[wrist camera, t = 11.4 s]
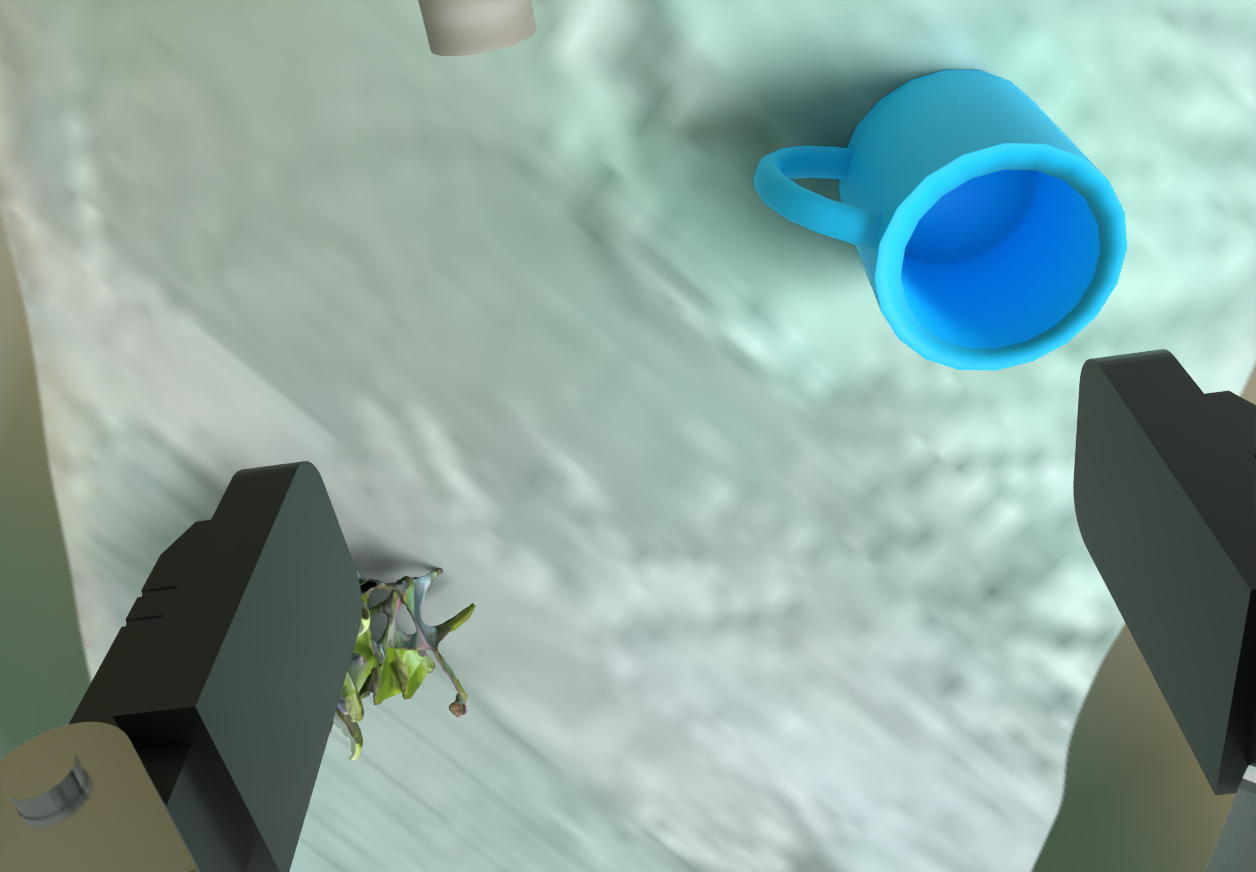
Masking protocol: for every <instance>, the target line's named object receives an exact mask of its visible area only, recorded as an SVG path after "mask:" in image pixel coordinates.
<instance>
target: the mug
mask: <svg viewBox="0 0 1256 872" xmlns="http://www.w3.org/2000/svg"><path fill="white" fill-rule="evenodd" d="M797 178H829V179H837V180H839V194H840V198H841V202H838V201H835V200H831V199H829V198H826V197H824V196H822V195H819V194H817V193H815V192H812V191H810V190H808V189H805V188H803V187H801V186H799V185H798V184H796V183H795V182H793V181H792V180H790V179H797ZM753 184H754V188H755V190H756V192H757V194H758V195H759V196H760V198H761V199H762V201H763V202H764V203H765V204H766V205H767V206H768V207H769V208H771V209H772V210H774V211H775V212H777V213H778V214H780V215H781V216H783V217H784V218H786V219H787V220H789V221H792V222H794V223H796V224H798V225H801V226H803V227H805V228H807V229H810V230H812V231H814V232H816V233H819V234H822V235H826V236H829V237H832V238H835V239H838V240H841V241H844V242H848V243H851V244H854V245H855V246H856V248H857V251H858V253H859V256H860V258H861V261H862V263H863V266H864V269H865V271H866V274H867V276H868V279H869V281H870V284H871V286H872V289H873V292H874V294H875V297H876V299H877V302H878V304H879V307H880V310H881V312H882V314H883V315H884V317H885V318H886V320H887V321H888V323H889V324H890V326H891V327H892V329H893V331H894V332H895V334H896V335H897V337H898V338H899V340H901V341H902V342H903V343H905V344H906V345H907V346H909V347H910V348H912V349H913V350H914V351H916V352H917V353H918V354H920V355H921V356H922V357H924V358H925V359H927V360H930V361H933V362H936V363H940V364H943V365H946V366H949V367H952V368H955V369H958V370H999V369H1003V368H1007V367H1011V366H1015V365H1019V364H1023V363H1027V362H1031V361H1034V360H1036V359H1038V358H1040V357H1042V356H1043V355H1045V354H1047V353H1049V352H1051V351H1053V350H1055V349H1056V348H1058V347H1060V346H1062V345H1064V344H1066V343H1068V342H1069V341H1070V340H1071V339H1072V338H1073V337H1074V336H1075V335H1076V334H1078V333H1079V332H1080V331H1081V330H1082V329H1083V328H1084V327H1085V326H1086V325H1087V324H1088V323H1090V322H1091V321H1092V320H1093V319H1094V318H1095V317H1096V316H1097V315H1098V313H1099V312H1100V310H1101V308H1102V307H1103V305H1104V304H1105V302H1106V301H1107V299H1108V297H1109V296H1110V294H1111V293H1112V291H1113V290H1114V288H1115V286H1116V285H1117V283H1118V279H1119V276H1120V272H1121V268H1122V265H1123V261H1124V257H1125V254H1126V250H1127V239H1126V226H1125V212H1124V210H1123V208H1122V206H1121V204H1120V202H1119V200H1118V198H1117V196H1116V194H1115V192H1114V190H1113V188H1112V186H1111V184H1110V182H1109V180H1108V179H1107V178H1106V177H1105V176H1104V175H1103V174H1102V173H1101V172H1100V171H1099V170H1098V169H1097V168H1096V167H1095V166H1094V165H1093V163H1092V162H1091V161H1090V160H1089V159H1088V158H1087V157H1086V156H1085V155H1084V154H1083V153H1082V152H1081V151H1080V150H1079V149H1078V148H1077V147H1076V146H1075V144H1074V143H1073V142H1072V141H1071V140H1070V139H1069V138H1068V137H1067V136H1066V135H1065V134H1064V133H1063V132H1062V131H1061V130H1060V129H1059V128H1058V127H1057V125H1056V124H1055V123H1054V122H1053V121H1052V120H1051V119H1050V118H1049V117H1048V116H1047V115H1046V114H1045V113H1044V112H1043V111H1042V110H1041V109H1040V108H1039V106H1038V105H1037V104H1036V103H1035V102H1034V101H1032V100H1031V99H1030V98H1029V97H1028V96H1027V95H1026V94H1024V93H1023V92H1022V91H1021V90H1020V89H1019V88H1018V87H1017V86H1015V85H1014V84H1013V83H1012V82H1011V81H1008V80H1005V79H1003V78H1000V77H997V76H995V75H992V74H989V73H986V72H984V71H981V70H947V69H945V70H942V71H938V72H935V73H932V74H928V75H925V76H921V77H918V78H915V79H911V80H909V81H908V82H906V83H905V84H903V85H902V86H900V87H899V88H897V89H895V90H894V91H892V92H891V93H889V94H888V95H886V96H885V97H883V98H881V99H880V100H879V101H878V102H877V103H876V105H875V106H874V107H873V108H872V109H871V110H870V111H869V113H868V114H867V115H866V116H865V117H864V118H863V119H862V121H861V122H860V123H859V124H858V125H857V126H856V129H855V131H854V133H853V135H852V137H851V139H850V142H849V144H848V146H847V148H841V147H831V146H796V147H787V148H782V149H779V150H777V151H774V152H772V153H770V154H767V155H765V156H764V157H763V158H762V159H761V160H760V162H759V164H758V167H757V169H756V172H755V175H754V180H753Z"/></svg>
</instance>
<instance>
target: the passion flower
mask: <svg viewBox="0 0 1256 872" xmlns="http://www.w3.org/2000/svg"><path fill="white" fill-rule="evenodd" d="M355 569H356V572H357V575H358V579H359V584H360V590H361V600H362V615H361V624H360V629H359V633H358V637H357V640H356V643H355V647H354V650H353V653H356V654H358V655H356V656H355V657H353V658H351V661H350V664H349V668H348V671H347V674H346V678H345V681H344V685H343V688H342V692H341V695H340V698H339V702H338V705H337V709H336V712H335V716H334V719H333V722H334V723H335V724H336V726H337V727H338V728H340V729H341V730H342V732H343V733H344V735H345V736H347V737H349V738H350V740H351V751H352V755H351V756H350V757H349V760H355V759H357V758H358V757H359V755H360V752H361V749H362V746H363V738H362V734H361V730H360V728H359V726H358V724H357V722H356V721H361V720H362V718H363V716H364V710H363V706H362V702H361V699H363V698H365V697H367V696H369V695H370V692H372V693H374V695H373V698H374V701H373V702H374V705H377V704H380V703H382V701H383V700H385V699H387V698H389V697H392V696H394V695H396V694H399V693H402V694H403V697H404V699H411V697H412V696H413V695H414V693H415V691H416V690H417V689H418V687H419V686H420V685H421V683H422V681H423V679H424V678H425V676H426V674H427V673H431V672H432V670H433V669H434V668H435V663H434V662H433V661H432V659H431V658H430V657H429V656H428V655H427V654H426V652H425V651H424V650H426V649H430V650H432V651H433V653H434V655H435V657H436V658H437V660H438V661H439V663H440V664H441V666H442V669H443V670H444V671H445V672H446V674H447V675H448V676H449V677H450V679H451V681H452V682H453V684H454V685H455V688H456V690H457V691H458V692H459V693H458V694H457V695H456V700H455V702H453V703H452V704H450V706H449V710H450V711H451V712H452V713H453V714H454V715H456V717H459V716H461V715H464V714H465V713H466V712H467V694H466V693H465V691H464V690H463V688H462V686H461V684H460V682H459V681H458V680H457V678H456V677H455V675H454V673H453V671H452V670H451V668H450V667H449V666H448V664H447V663H446V661H445V660H444V658H443V657H442V656H441V655H440V653H439V652H438V649H437V647H438V644H439V642H440V641H441V640H442V639H443V638H444V637H445V636H446V635H447V634H448V633H449V632H451V631H454V630H456V629H457V628H458V627H459V626H460V625H461V624H462V623H464V622H465V621H467V620H468V619H469V617H470V616H471V614H472V612H473V610H474V608H475V605H474V604H473V603H472V604H471V605H470V606H469V607H467V608H465V609H464V610H463V611H461V612H460V613H458V614H457V615H456V616H454V617H453V618H452V619H450V620H448V621H446V622H444V623H443V624H440V625H438V626H432V627H428V626H427V625H425V624H424V623H423V621H422V619H421V607H422V605H423V603H424V601H425V598H426V593H427V591H428V589H429V587H430V585H431V583H432V581H433V580H434V578H435V577H436V576H437V575H439V574H441V573H443V570H442V568H440V569H438V570H435V571H432V572H430V573H428V574H427V575H426V576H422V577H419V578H417V577H414V578H410V577H408V576H405V577H403V578H401V579H399V580H398V581H397V582H396V583H387V584H386V583H383V582H380V581H378V580H373V579H369V580H366V579H363V578H361V577H360V575H359V572H358V570H357V568H356V567H355ZM374 588H376V589H377V590H379V589H383V590H392V591H391V594H390V596H389V597H388V598H387V599H386V600H384V601H383V602H381V603H380V604H378V605H376V606H374V607H372V608H370V609H368V606H367V601H368V598H369V596H370V594H371V591H372V590H373V589H374ZM402 603H403V604H405V605H406V607H407V610H408V611H409V613H410V614H411V616H412V619H413V621H414V623H415V625H416V630H417V631H416V633H415V634H412V635H406V634H405V633H403V632H401V631H399V630H398V629H397V627H396V624H395V618H396V615H397V612H398V609H399V607H400V604H402ZM379 612H382V613H384V614H386V615H387V617H388V623H387V627H386V629H385V631H384V633H383V635H382V637H381V639H380V641H379V642H378V643H376V642H375V641H374V640H372V632H371V630H370V627H369V625H370V615H372V614H374V613H379ZM423 649H424V650H423ZM358 692H359V693H358ZM332 725H333V723H332ZM331 729H332V726H331ZM331 729H330V732H331ZM329 734H330V733H329Z"/></svg>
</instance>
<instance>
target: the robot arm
mask: <svg viewBox="0 0 1256 872" xmlns="http://www.w3.org/2000/svg"><path fill="white" fill-rule="evenodd" d="M1074 504H1075V511H1076V516H1077V521H1078V525H1079V529H1080V532H1081V535H1082V538H1083V541H1084V543H1085V545H1086V547H1087V549H1088V551H1089V553H1090V555H1091V557H1092V559H1093V561H1094V563H1095V565H1096V567H1097V569H1098V571H1099V572H1100V574H1101V576H1102V578H1103V580H1104V582H1105V584H1106V586H1107V588H1108V590H1109V592H1110V594H1111V596H1112V597H1113V599H1114V601H1115V603H1116V605H1117V607H1118V609H1119V611H1120V613H1121V615H1122V617H1123V619H1124V621H1125V622H1126V624H1127V626H1128V628H1129V630H1130V632H1131V634H1132V636H1133V638H1134V639H1135V642H1136V643H1137V646H1138V647H1139V649H1140V651H1141V653H1142V655H1143V657H1144V659H1145V661H1146V663H1147V664H1148V666H1149V669H1150V670H1151V672H1152V674H1153V676H1154V678H1155V680H1156V682H1157V684H1158V686H1159V688H1160V689H1161V692H1162V694H1163V695H1164V697H1165V699H1166V701H1167V703H1168V705H1169V707H1170V709H1171V711H1172V713H1173V715H1174V717H1175V718H1176V720H1177V722H1178V724H1179V726H1180V728H1181V730H1182V732H1183V734H1184V736H1185V738H1186V740H1187V742H1188V743H1189V745H1190V747H1191V749H1192V751H1193V753H1194V755H1195V757H1196V759H1197V761H1198V762H1199V765H1200V766H1201V768H1202V770H1203V772H1204V774H1205V776H1206V778H1207V780H1208V782H1209V784H1210V786H1211V788H1212V790H1213V791H1214V793H1215V795H1222V794H1231V793H1236V795H1235V798H1234V800H1233V803H1232V805H1231V808H1230V810H1229V813H1228V815H1227V818H1226V821H1225V823H1224V826H1223V828H1222V830H1221V833H1220V835H1219V838H1218V841H1217V843H1216V846H1215V848H1214V850H1213V853H1212V855H1211V858H1210V860H1209V863H1208V866H1207V868H1206V870H1205V872H1256V405H1254V404H1252V403H1250V402H1248V401H1247V400H1245V399H1243V398H1241V397H1239V396H1238V395H1236V394H1234V393H1232V392H1230V391H1223V392H1215V393H1207V394H1204V393H1203V392H1202V391H1201V389H1200V388H1199V387H1198V386H1197V384H1196V383H1195V382H1194V381H1193V379H1192V378H1191V377H1190V376H1189V374H1188V373H1187V372H1186V370H1185V369H1184V368H1183V367H1182V365H1181V364H1180V363H1179V362H1178V360H1177V359H1176V358H1175V357H1174V356H1173V355H1172V353H1171V352H1169V351H1168V350H1164V349H1162V350H1154V351H1147V352H1139V353H1131V354H1124V355H1116V356H1109V357H1101V358H1094V359H1089V360H1087V361H1086V362H1085V363H1084V365H1083V368H1082V371H1081V376H1080V385H1079V401H1078V418H1077V434H1076V451H1075V467H1074ZM141 591H142V597H138V598H137V599H136V601H135V603H134V605H133V607H132V609H131V610H130V612H129V614H128V616H127V618H126V626H125V627H121V629H120V631H119V633H118V634H117V636H116V638H115V640H114V642H113V644H112V645H111V647H110V649H109V651H108V653H107V655H106V656H105V658H104V660H103V662H102V664H101V666H100V668H99V669H98V671H97V673H96V675H95V677H94V679H93V680H92V682H91V684H90V686H89V688H88V690H87V692H86V693H85V695H84V697H83V699H82V701H81V703H80V704H79V706H78V708H77V710H76V712H75V714H74V715H73V717H72V719H71V721H70V723H69V725H66V726H62V727H58V728H56V729H53V730H50V731H48V732H45V733H43V734H41V735H39V736H37V737H34V738H32V739H31V740H29V741H27V742H25V743H24V744H22V745H20V746H19V747H17V748H15V749H14V750H13V751H11V752H10V753H9V754H7V755H6V756H5V757H3V758H2V759H1V760H0V872H289V871H290V867H291V864H292V860H293V857H294V853H295V850H296V847H297V843H298V840H299V836H300V833H301V829H302V826H303V822H304V819H305V816H306V812H307V809H308V805H309V802H310V798H311V795H312V791H313V788H314V785H315V781H316V778H317V774H318V771H319V767H320V764H321V760H322V757H323V754H324V750H325V747H326V743H327V740H328V736H329V733H330V729H331V726H332V723H333V719H334V716H335V712H336V709H337V705H338V702H339V698H340V695H341V692H342V688H343V685H344V681H345V678H346V674H347V671H348V668H349V664H350V661H351V657H352V654H353V650H354V647H355V643H356V640H357V637H358V633H359V629H360V624H361V615H362V600H361V590H360V584H359V579H358V575H357V572H356V569H355V566H354V563H353V560H352V558H351V555H350V552H349V550H348V547H347V544H346V542H345V539H344V536H343V534H342V531H341V528H340V525H339V523H338V520H337V517H336V515H335V512H334V509H333V507H332V504H331V501H330V499H329V496H328V493H327V491H326V488H325V485H324V482H323V480H322V478H321V475H320V473H319V472H318V470H317V468H316V467H315V466H314V465H313V464H312V463H311V462H308V461H303V462H296V463H288V464H281V465H273V466H266V467H258V468H251V469H243V470H240V471H238V472H237V473H235V475H234V476H233V478H232V480H231V481H230V483H229V485H228V487H227V489H226V491H225V493H224V495H223V497H222V499H221V501H220V503H219V505H218V507H217V509H216V511H215V513H214V515H213V517H212V519H211V520H206V521H199V522H195V523H194V524H193V525H192V526H191V527H190V528H189V529H188V530H187V531H186V532H185V533H183V534H182V535H181V536H180V537H179V538H178V539H177V540H176V541H175V542H174V543H173V544H172V545H171V546H170V547H169V548H168V549H166V550H165V551H164V552H163V553H162V554H161V555H160V557H159V559H158V561H157V562H156V564H155V566H154V568H153V570H152V572H151V574H150V575H149V577H148V579H147V581H146V583H145V585H144V586H143V588H142V590H141Z"/></svg>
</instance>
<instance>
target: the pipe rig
mask: <svg viewBox="0 0 1256 872" xmlns="http://www.w3.org/2000/svg"><path fill="white" fill-rule="evenodd" d="M418 1H419V5H420V9H421V13H422V17H423V21H424V25H425V29H426V33H427V37H428V41H429V45H430V49H431V52H432V53H434V54H436V55H441V56H463V55H472V54H479V53H484V52H489V51H493V50H497V49H501V48H505V47H508V46H511V45H514V44H516V43H519V42H521V41H523V40H525V39H527V38H529V37H531V36H532V35H533V34H534V33H535V32H536V25H535V20H534V15H533V10H532V5H531V0H418Z"/></svg>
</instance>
